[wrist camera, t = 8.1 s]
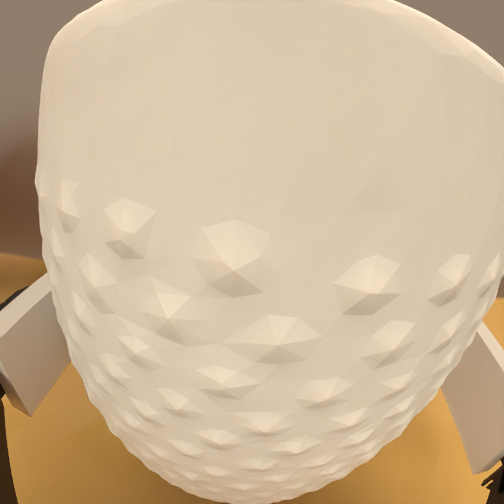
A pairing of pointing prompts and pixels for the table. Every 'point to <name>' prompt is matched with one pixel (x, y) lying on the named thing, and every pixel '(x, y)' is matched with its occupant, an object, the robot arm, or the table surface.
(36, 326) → the robot arm
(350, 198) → the mug
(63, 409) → the table surface
